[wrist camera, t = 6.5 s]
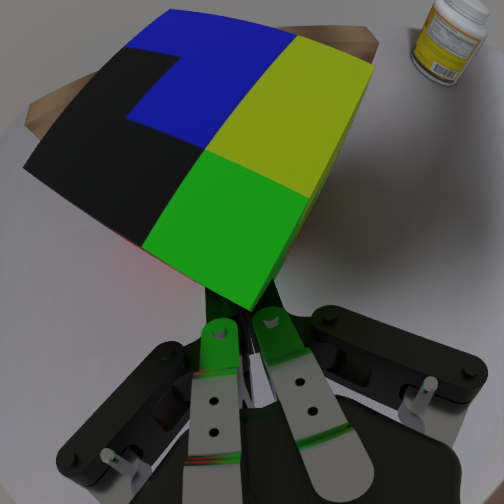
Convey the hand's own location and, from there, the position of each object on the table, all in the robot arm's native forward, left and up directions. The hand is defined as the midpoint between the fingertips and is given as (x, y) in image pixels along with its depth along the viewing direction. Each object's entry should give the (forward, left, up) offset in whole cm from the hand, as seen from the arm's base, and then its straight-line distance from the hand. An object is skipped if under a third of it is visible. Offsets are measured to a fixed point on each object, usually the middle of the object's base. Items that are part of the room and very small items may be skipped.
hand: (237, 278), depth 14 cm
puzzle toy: (0, -5, -4) cm, 7 cm away
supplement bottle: (-23, -16, -4) cm, 29 cm away
